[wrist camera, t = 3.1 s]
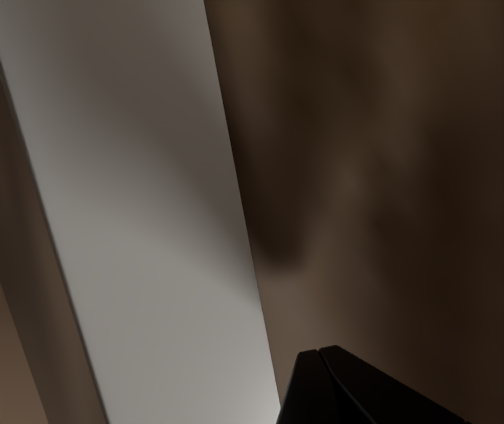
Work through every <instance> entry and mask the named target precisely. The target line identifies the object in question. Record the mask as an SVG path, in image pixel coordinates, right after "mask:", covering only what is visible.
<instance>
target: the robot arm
mask: <svg viewBox="0 0 504 424" xmlns="http://www.w3.org/2000/svg"><path fill="white" fill-rule="evenodd" d="M276 424H472V423H470V422H465V420H464V419H463V418H461V417H459V416H458V415H456V414H454V413H453V412H451V411H449V410H447V409H446V408H444V407H442V406H441V405H439V404H437V403H435V402H434V401H432V400H430V399H429V398H427V397H425V396H423V395H422V394H420V393H418V392H417V391H415V390H413V389H411V388H410V387H408V386H406V385H405V384H403V383H401V382H399V381H398V380H396V379H394V378H393V377H391V376H389V375H388V374H386V373H384V372H382V371H381V370H379V369H377V368H376V367H374V366H372V365H370V364H369V363H367V362H365V361H364V360H362V359H360V358H358V357H357V356H355V355H353V354H352V353H350V352H348V351H346V350H345V349H343V348H341V347H340V346H337V345H333V346H328V347H323V348H320V349H319V351H317V350H316V349H313V350H308V351H303V352H299V353H298V355H297V358H296V361H295V364H294V368H293V371H292V374H291V377H290V380H289V383H288V387H287V390H286V393H285V396H284V399H283V402H282V405H281V409H280V412H279V415H278V418H277V421H276Z"/></svg>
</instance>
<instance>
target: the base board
mask: <svg viewBox="0 0 504 424" xmlns="http://www.w3.org/2000/svg"><path fill="white" fill-rule="evenodd" d="M0 79H1V82H2V86H3V89H4V92H5V95H6V99H7V102H8V105H9V109H10V112H11V115H12V118H13V122H14V125H15V128H16V131H17V135H18V138H19V141H20V145H21V148H22V151H23V154H24V158H25V161H26V164H27V167H28V171H29V174H30V177H31V180H32V184H33V187H34V190H35V194H36V197H37V200H38V203H39V207H40V210H41V213H42V216H43V220H44V223H45V226H46V229H47V233H48V236H49V239H50V243H51V246H52V249H53V252H54V256H55V259H56V262H57V265H58V269H59V272H60V275H61V279H62V282H63V285H64V288H65V292H66V295H67V298H68V301H69V305H70V308H71V311H72V314H73V318H74V321H75V324H76V328H77V331H78V334H79V337H80V341H81V344H82V347H83V350H84V354H85V357H86V360H87V363H88V367H89V370H90V373H91V377H92V380H93V383H94V386H95V390H96V393H97V396H98V399H99V403H100V406H101V409H102V412H103V416H104V419H105V422H106V424H276V421H277V418H278V415H279V412H280V409H281V408H280V403H279V397H278V392H277V387H276V382H275V376H274V371H273V366H272V360H271V355H270V350H269V345H268V339H267V334H266V329H265V323H264V318H263V313H262V308H261V302H260V297H259V292H258V286H257V281H256V276H255V271H254V265H253V260H252V255H251V249H250V244H249V239H248V234H247V228H246V223H245V218H244V213H243V207H242V202H241V197H240V191H239V186H238V181H237V176H236V170H235V165H234V160H233V154H232V149H231V144H230V139H229V133H228V128H227V123H226V117H225V112H224V107H223V102H222V96H221V91H220V86H219V80H218V75H217V70H216V65H215V59H214V54H213V49H212V43H211V38H210V33H209V28H208V22H207V17H206V12H205V6H204V1H203V0H0Z"/></svg>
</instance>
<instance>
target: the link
mask: <svg viewBox="0 0 504 424" xmlns="http://www.w3.org/2000/svg"><path fill="white" fill-rule="evenodd" d="M0 424H106V422H105V419H104V416H103V412H102V409H101V406H100V403H99V399H98V396H97V393H96V390H95V386H94V383H93V380H92V377H91V373H90V370H89V367H88V363H87V360H86V357H85V354H84V350H83V347H82V344H81V341H80V337H79V334H78V331H77V328H76V324H75V321H74V318H73V314H72V311H71V308H70V305H69V301H68V298H67V295H66V292H65V288H64V285H63V282H62V279H61V275H60V272H59V269H58V265H57V262H56V259H55V256H54V252H53V249H52V246H51V243H50V239H49V236H48V233H47V229H46V226H45V223H44V220H43V216H42V213H41V210H40V207H39V203H38V200H37V197H36V194H35V190H34V187H33V184H32V180H31V177H30V174H29V171H28V167H27V164H26V161H25V158H24V154H23V151H22V148H21V145H20V141H19V138H18V135H17V131H16V128H15V125H14V122H13V118H12V115H11V112H10V109H9V105H8V102H7V99H6V95H5V92H4V89H3V86H2V82H1V79H0Z"/></svg>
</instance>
